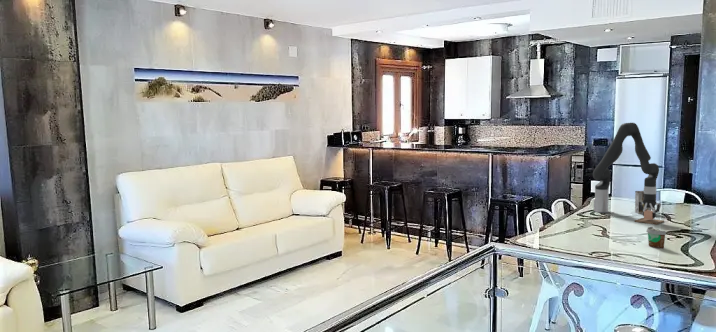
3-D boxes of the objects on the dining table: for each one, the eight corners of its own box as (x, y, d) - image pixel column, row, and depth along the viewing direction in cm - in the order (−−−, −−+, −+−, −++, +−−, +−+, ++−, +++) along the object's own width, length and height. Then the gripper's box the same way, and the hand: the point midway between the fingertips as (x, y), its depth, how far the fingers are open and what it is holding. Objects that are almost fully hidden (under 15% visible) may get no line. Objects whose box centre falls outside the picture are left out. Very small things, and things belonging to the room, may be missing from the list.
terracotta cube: (643, 218, 364) (643, 211, 363) (647, 217, 367) (647, 210, 366) (651, 219, 360) (651, 212, 359) (654, 218, 363) (654, 211, 362)
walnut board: (634, 221, 365) (634, 220, 365) (642, 219, 373) (642, 217, 373) (656, 224, 354) (656, 223, 354) (664, 222, 362) (664, 220, 362)
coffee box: (647, 212, 396) (647, 190, 394) (651, 213, 390) (651, 191, 388) (634, 212, 397) (635, 190, 395) (638, 213, 391) (638, 192, 389)
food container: (641, 244, 308) (641, 226, 307) (651, 243, 309) (652, 226, 308) (655, 249, 296) (655, 231, 295) (665, 248, 297) (666, 231, 295)
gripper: (636, 192, 365) (635, 217, 366) (658, 194, 354) (658, 219, 355) (641, 191, 369) (640, 215, 371) (663, 193, 358) (662, 218, 360)
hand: (649, 217), depth 363 cm, fingers closed on terracotta cube, 5 cm apart
